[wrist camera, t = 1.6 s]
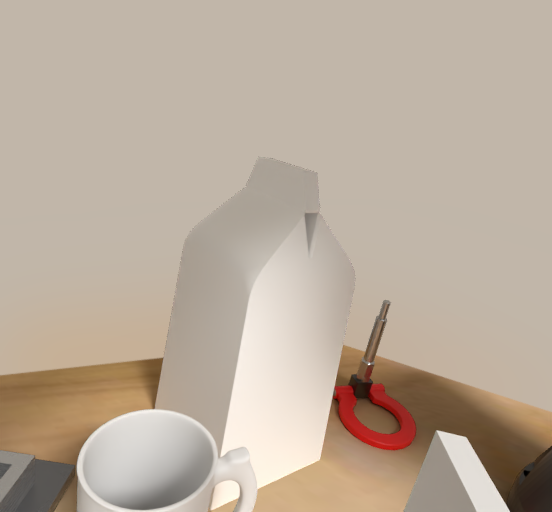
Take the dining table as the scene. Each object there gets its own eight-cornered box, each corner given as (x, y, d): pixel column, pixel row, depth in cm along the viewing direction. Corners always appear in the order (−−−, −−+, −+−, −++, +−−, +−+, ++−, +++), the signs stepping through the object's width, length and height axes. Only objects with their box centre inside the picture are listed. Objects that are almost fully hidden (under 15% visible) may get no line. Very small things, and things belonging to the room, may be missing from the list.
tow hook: (428, 449, 44) (382, 389, 52) (472, 346, 39) (414, 298, 47) (360, 458, 41) (322, 393, 49) (398, 347, 36) (350, 297, 44)
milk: (153, 412, 41) (184, 143, 33) (251, 385, 48) (295, 158, 40) (210, 510, 32) (270, 174, 24) (319, 459, 39) (394, 186, 31)
